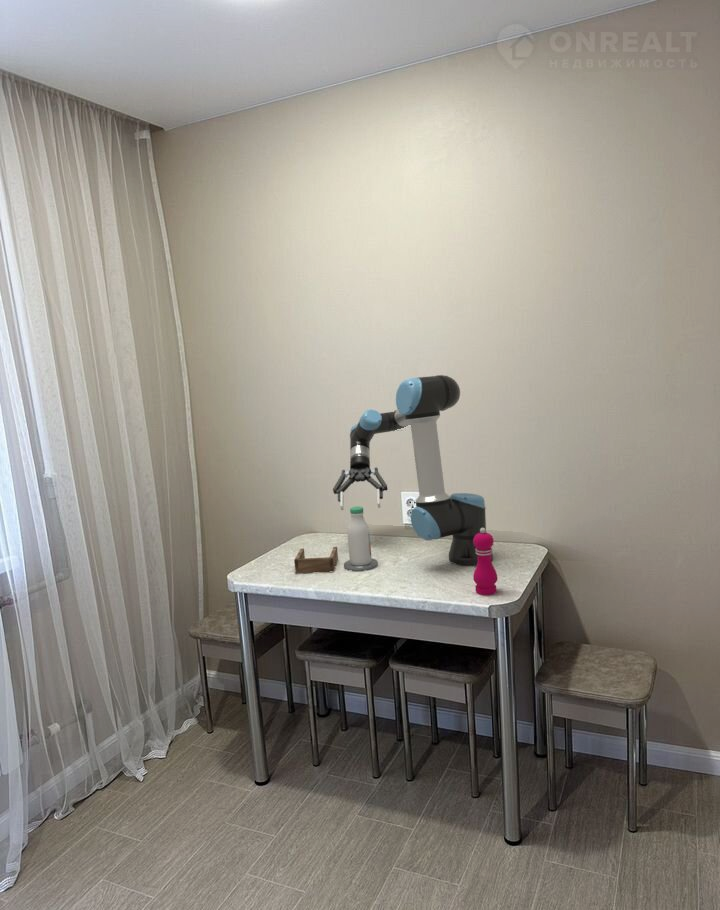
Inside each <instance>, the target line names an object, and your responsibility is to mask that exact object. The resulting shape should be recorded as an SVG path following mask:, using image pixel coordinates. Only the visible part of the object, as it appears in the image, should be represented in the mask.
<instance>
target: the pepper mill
mask: <svg viewBox="0 0 720 910" xmlns="http://www.w3.org/2000/svg"><path fill="white" fill-rule="evenodd" d="M480 532H481V533H478V534H476V535H475V537H474V540H473V543H474V545H475V547H476V549H475V550H476V554H477V557H478V563H477V565H476V566H475V569H474V572H473V582H474V583H475V586H474V587H475V593H476V594H477V595H482V596H491V595H494V594H495V592H496V593H497V585H496V583H497V582H498V573H497V571H496V569H495V567H494V565H493V562H492V561H493V560H492V561H491V554H493V546H494V542H495V541H494V538H493V536H492V535H491V534H490V533H488V532H487V528H486V529H485V528H481V529H480Z"/></svg>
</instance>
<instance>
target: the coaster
mask: <svg viewBox="0 0 720 910" xmlns="http://www.w3.org/2000/svg"><path fill="white" fill-rule="evenodd" d="M371 558H372V561H371V563H370V564H368V565H363V566H354V565H351V564H350V559H349V560H346V561H344V563H343V568H344V570H346V569H347V570H346V571H349V570H352V571H351V572H364V570H367V571H370V569H371V570H373V568H374V569H376V568H377V567H378V566H379V561H378V560H377V559H375V558H373V557H371ZM375 567H376V568H375Z"/></svg>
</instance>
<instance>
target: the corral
mask: <svg viewBox="0 0 720 910" xmlns="http://www.w3.org/2000/svg"><path fill="white" fill-rule="evenodd" d="M293 561H294V570H295V571H294V572H295V573H303V574H314V573H313V572H324V573H331V572H330V571H334V572H335V570H334V569H336V567H337V564H338V562H337V561H339V555H338V547H337V546H333V548H332V550H331V553H330V556H328V557H309V558H306V554H305V549H304V548H300V549H299V551H298V553H297V554H296V556H295V558H294V559H293ZM335 566H336V567H335Z"/></svg>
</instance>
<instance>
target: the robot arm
mask: <svg viewBox="0 0 720 910" xmlns="http://www.w3.org/2000/svg"><path fill="white" fill-rule="evenodd" d="M460 396H461V389H460V385H459V384H458V382H457V381H456V380H455V379H453V378H452V377H450V376H448V375H443V374H439V375H438V374H437V375H430V376H421V377H420V376H419V377H413V378H408V379H404V380H403V381H402V382H401V383H400V384H399V386H398V388H397V389H396V395H395V405H396V406H395V407H396V408H397V409H395V410H393V411H394V412H393V411H388V412H381V413H380V412H379V411H378V410H374V409H367V410H365V411H364V412H363V414H362V415H361V416H360V417H359V420H358V423H356V424H355V425H352V426H351V428H350V433H349V443H350V444H349V446H350V448H349V450H350V451H349V453H350V454H349V455H350V456H349V457H350V458H349V459H350V461H349V462H350V463H349V468H350V469H349V470H345V469H342V470H341V475H340V476H339V478H338V480H337V481H336V483H335V484H334V486H333V488H332V492H333V494H334V495H337V501H338V502H339V504H340V506H339V507H340V509H341V510H340V511H344V501H345V500H344V499H345V498H344V493H345V492H346V490H347V489H348V488H349V487H351V485H352V484H354V483H355V482H356V483H359V482H365V481H366V482H367V483H370V485H372V487H374V488H375V489H376V491H377V492H376V497H377V499H376V500H377V501H376V502H377V507H378V509H380V508H381V500H382V499H384V491H388V489H389V488H388V484H387V483H386V482H385V480H384V478H383V477H382V476H381V473H380V472H379V468H378V466H376V467H374V469H371V461H370V460H371V457H370V454H371V453H370V443H371V441H372V439H373V438H374V436H375V435H377V434H383V433H389V432H396V431H395V430H397V429H401V428H404V427H406V426H408V425H411V427H410V431H411V438H412V446H413V447H412V448H413V453H414V463H415V469H416V470H415V471H416V479H417V485H418V486H417V487H418V493H419V495H418V497H417V498H416V500H415V507H414V508H413V509H412V510H411V511H410V523H411V526H412V528H413V530H414V531H415V533H416V534H417V536H418V537H419V538H420V539H422V540H424V541H431V540H432V541H433V540H438V539H443V538H445V537H450V536H452V540H451V544H450V548H449V552H448V561H449V562H450V563H451V564H455V565H457V566H477V563H478V557H477V554H476V550H475V549H476V547H475V545H474V543H473V540H474V537H475V535H476V534H478V533H481V532H480V529H481V528H485V529H486V530H487V522H486V521H487V520H486V509H487V508H486V504H485V503H486V502H485V499H484V496H482V495H480V494H475V493H467V492H460V493H458V492H456V493H452V494H451V495H449V494H447V493H446V490H445V482H444V475H443V474H444V472H443V468H442V467H443V466H442V465H443V464H442V458H441V457H442V456H441V450H440V448H441V447H440V440H439V431H438V427H437V426H438V425H437V421H438V419H439V418H440V416H441V412H444V411H447V410H448V409H451V408H453V407H455V406H456V404H457V403H458V402H459V400H460ZM397 431H398V430H397ZM371 474H373V476H375V478H376V479H377V481H376V480H375V479H374V478H373V476H371ZM348 476H349V477H348ZM346 478H348V479H346ZM345 480H346V481H345ZM378 482H379V483H378ZM493 557H494V555H493V553H492V554H491V560H492V561H493Z"/></svg>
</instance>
